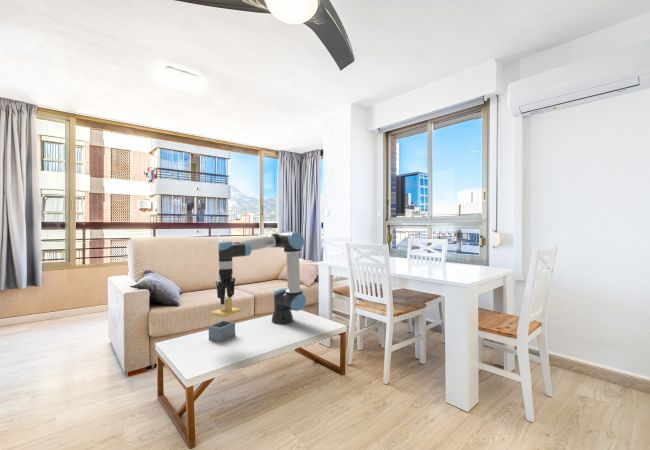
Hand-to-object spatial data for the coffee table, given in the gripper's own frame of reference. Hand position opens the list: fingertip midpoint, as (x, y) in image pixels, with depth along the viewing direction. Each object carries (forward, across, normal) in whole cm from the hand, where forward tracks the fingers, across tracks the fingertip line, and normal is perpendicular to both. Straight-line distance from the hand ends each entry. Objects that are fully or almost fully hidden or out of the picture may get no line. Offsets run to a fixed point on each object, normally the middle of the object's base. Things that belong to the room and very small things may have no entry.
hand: (226, 308), depth 178 cm
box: (+21, -9, -13) cm, 27 cm away
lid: (+2, 0, 0) cm, 2 cm away
